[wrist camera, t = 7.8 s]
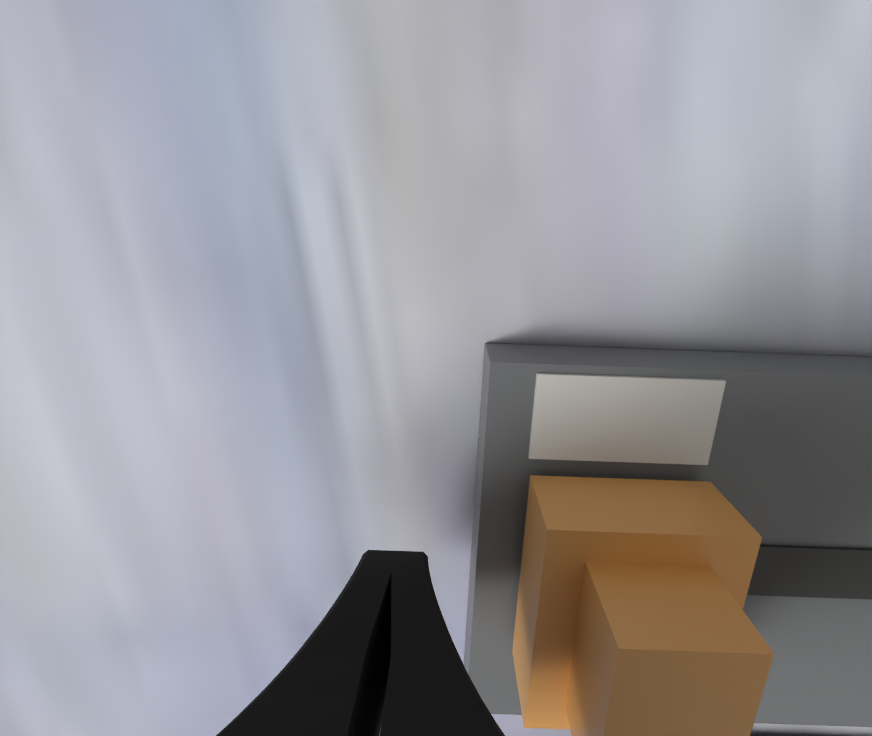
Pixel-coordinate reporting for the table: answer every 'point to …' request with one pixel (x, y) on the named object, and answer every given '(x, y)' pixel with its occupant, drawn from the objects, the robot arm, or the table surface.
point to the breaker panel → (695, 461)
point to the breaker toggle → (637, 610)
